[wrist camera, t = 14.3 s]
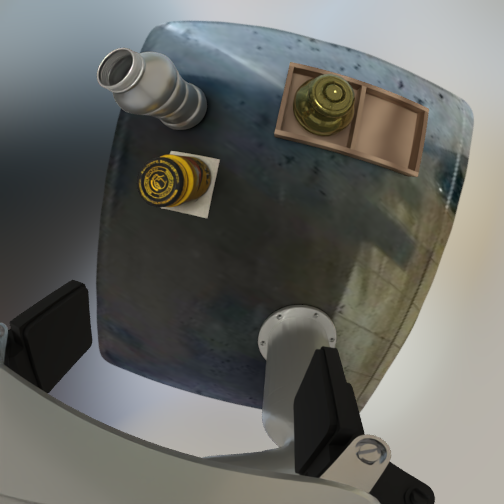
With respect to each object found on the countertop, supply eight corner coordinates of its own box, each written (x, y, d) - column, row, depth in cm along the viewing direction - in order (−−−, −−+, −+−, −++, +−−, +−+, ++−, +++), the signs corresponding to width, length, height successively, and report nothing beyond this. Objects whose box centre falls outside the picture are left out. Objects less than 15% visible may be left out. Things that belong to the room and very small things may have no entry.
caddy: (418, 112, 32) (428, 108, 29) (406, 175, 35) (417, 176, 32) (289, 70, 33) (290, 62, 29) (274, 137, 36) (274, 133, 32)
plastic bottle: (158, 114, 36) (71, 83, 17) (189, 80, 34) (122, 21, 15) (187, 141, 37) (110, 121, 18) (220, 106, 35) (168, 52, 16)
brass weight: (313, 76, 32) (324, 47, 22) (357, 110, 33) (382, 92, 23) (280, 114, 34) (281, 95, 24) (325, 149, 35) (342, 142, 25)
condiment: (219, 159, 37) (195, 155, 26) (207, 218, 40) (180, 238, 28) (171, 150, 37) (131, 145, 26) (161, 207, 40) (120, 223, 28)
